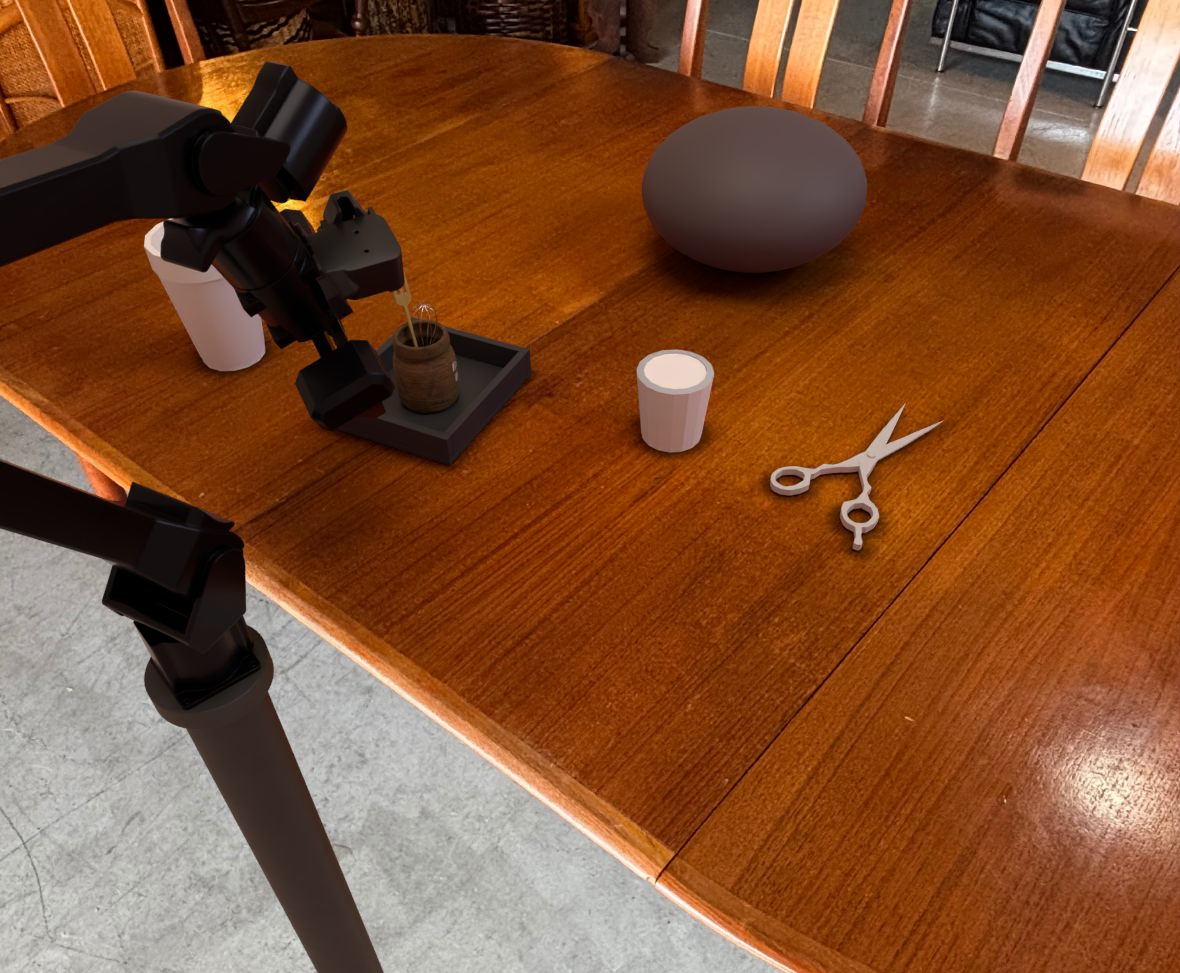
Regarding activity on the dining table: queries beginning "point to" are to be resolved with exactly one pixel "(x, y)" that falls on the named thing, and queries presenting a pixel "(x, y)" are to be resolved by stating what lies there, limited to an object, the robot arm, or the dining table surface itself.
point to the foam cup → (208, 311)
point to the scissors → (857, 463)
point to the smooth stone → (754, 189)
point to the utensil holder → (423, 361)
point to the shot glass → (673, 398)
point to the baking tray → (483, 392)
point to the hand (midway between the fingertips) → (359, 373)
